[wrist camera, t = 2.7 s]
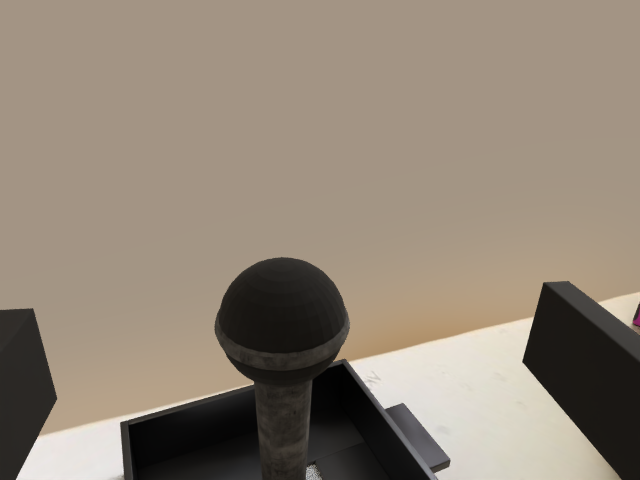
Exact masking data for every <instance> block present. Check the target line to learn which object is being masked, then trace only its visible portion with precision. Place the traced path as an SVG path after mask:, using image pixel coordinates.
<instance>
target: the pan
mask: <svg viewBox="0 0 640 480" xmlns="http://www.w3.org/2000/svg"><path fill="white" fill-rule="evenodd" d="M120 427H121V441H122V454H123V467H124V480H262V472H261V460H260V448H259V435H258V423H257V411H256V399H255V387H254V385H250V386H247V387H243V388H240V389H236V390H233V391H229V392H226V393H222V394H219V395H215V396H212V397H208V398H204V399H201V400H197V401H194V402H190V403H187V404H183V405H180V406H176V407H173V408H169V409H166V410H162V411H159V412H155V413H152V414H148V415H145V416H141V417H137V418H134V419H130V420H128V421H123V422H120ZM313 463H315V464H316V466H317V468H318V470H319V472H320V474H321V476H322V478H323V480H438V479H437V477H436V476H435V475H434V473H436V472H438V471H441V470H443V469H445V468H447V467H449V465H450V458H449V457H448V456H447V455H446V454H445V452H444V451H443V450H442V449H441V448H440V446H439V445H438V444H437V443H436V442H435V440H434V439H433V438H432V437H431V436H430V434H429V433H428V432H427V431H426V430H425V428H424V427H423V426H422V425H421V424H420V422H419V421H418V420H417V419H416V418H415V416H414V415H413V414H412V413H411V412H410V410H409V409H408V408H407V407H406V406H405V404H404V403H402V404H399V405H396V406H393V407H390V408H387V409H384V408H383V407H382V406H381V405H380V403H379V402H378V401H377V399H376V398H375V397H374V395H373V394H372V393H371V392H370V390H369V389H368V388H367V386H366V385H365V384H364V382H363V381H362V380H361V379H360V377H359V376H358V375H357V373H356V372H355V371H354V369H353V368H352V367H351V366H350V364H349V363H348V362H347V360H346V359H342V360H339V361H335V362H332V363H331V364H330V365H329V367H328V368H327V369H326V370H325V371H324V372H323V373H321V374H320V375H318V376H317V377H315V378H314V379H312V392H311V407H310V422H309V437H308V452H307V466H308V465H310V464H313Z"/></svg>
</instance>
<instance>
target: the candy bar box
mask: <svg viewBox="0 0 640 480" xmlns="http://www.w3.org/2000/svg"><path fill="white" fill-rule="evenodd" d="M633 323H634V324H635V325H638V326H640V303H639V305H638V308H637V310H636V313H635V316H634V319H633Z"/></svg>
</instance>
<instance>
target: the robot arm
mask: <svg viewBox="0 0 640 480" xmlns="http://www.w3.org/2000/svg"><path fill="white" fill-rule="evenodd" d="M522 362H523V363H524V364H525V366H526V367H527V368H528V369H529V370H530V372H531V373H532V374H533V375H534V376H535V377H536V379H537V380H538V381H539V382H540V383H541V384H542V386H543V387H544V388H545V389H546V390H547V392H548V393H549V394H550V395H551V396H552V397H553V399H554V400H555V401H556V402H557V403H558V405H559V406H560V407H561V408H562V409H563V410H564V412H565V413H566V414H567V415H568V416H569V417H570V419H571V420H572V421H573V422H574V423H575V425H576V426H577V427H578V428H579V429H580V430H581V432H582V433H583V434H584V435H585V436H586V437H587V439H588V440H589V441H590V442H591V443H592V445H593V446H594V447H595V448H596V449H597V450H598V452H599V453H600V454H601V455H602V456H603V458H604V459H605V460H606V461H607V462H608V463H609V465H610V466H611V467H612V468H613V469H614V470H615V472H616V473H617V474H618V475H619V476H620V478H621V479H622V480H640V335H638V334H637V333H636V332H635V331H633V330H632V329H631V328H629V327H628V326H627V325H625V324H624V323H623V322H621V321H620V320H619V319H617V318H616V317H615V316H613V315H612V314H611V313H610V312H608V311H607V310H606V309H604V308H603V307H602V306H600V305H599V304H598V303H596V302H595V301H594V300H592V299H591V298H590V297H589V296H587V295H586V294H585V293H583V292H582V291H581V290H579V289H578V288H577V287H575V286H574V285H573V284H571V283H570V282H569V281H562V282H544V283H543V287H542V290H541V294H540V298H539V301H538V305H537V309H536V312H535V316H534V320H533V324H532V327H531V331H530V335H529V339H528V342H527V346H526V350H525V354H524V357H523V361H522ZM56 400H57V396H56V392H55V388H54V385H53V381H52V377H51V373H50V370H49V366H48V362H47V358H46V355H45V351H44V347H43V343H42V340H41V336H40V332H39V328H38V325H37V321H36V317H35V313H34V310H33V308H32V309H13V310H0V480H16V478H17V476H18V474H19V472H20V470H21V468H22V466H23V464H24V462H25V460H26V458H27V456H28V455H29V453H30V451H31V449H32V447H33V445H34V443H35V441H36V439H37V437H38V435H39V433H40V431H41V429H42V427H43V425H44V423H45V421H46V419H47V418H48V415H49V414H50V412H51V410H52V408H53V406H54V404H55V402H56Z"/></svg>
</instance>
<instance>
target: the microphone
mask: <svg viewBox="0 0 640 480" xmlns="http://www.w3.org/2000/svg"><path fill="white" fill-rule="evenodd" d="M349 329H350V322H349V318H348V313H347V311H346V308H345V306H344V303H343V299H342V297H341V295H340V293H339V291H338V289H337V287H336V286H335V284H334V282H333V281H332V280H330V278H329V277H328V276H327V275H326V274H325V273H324V272H323V271H322V270H320V269H319V268H317V267H315V266H314V265H312V264H310V263H308V262H306V261H303V260H299V259H293V258H283V257H281V258H273V259H267V260H264V261H261V262H258V263H256V264H254V265H252V266H251V267H249V268H247V269H246V270H244V271H243V272H242V273H241V274H240V275H239V276H238V277H237V278H236V279H235V280H234V281H233V282H232V283H231V285H230V286H229V288H228V290H227V292H226V293H225V295H224V297H223V300H222V303H221V307H220V309H219V311H218V313H217V317H216V321H215V334H216V337H217V339H218V341H219V344H220V345H221V347H222V348H223V350H224V351H225V353H226V355H227V357H228V359H229V360H230V361H231V363H232V364H233V365H234V366H235V367H236V369H237V370H238V371H239V372H241V373H242V374H243V375H244V376H246V377H247V378H249V379H251V380H253V381H254V387H255V399H256V411H257V423H258V435H259V448H260V460H261V472H262V480H306V467H307V452H308V437H309V422H310V407H311V392H312V379H314V378H315V377H317V376H318V375H320V374H321V373H323V372H324V371H325V370H326V369H327V368H328V367H329V365H330V364H331V363H332V362H333V361H334V359H335V358H336V356H337V354H338V353H339V351H340V348H341V346H342V345H343V344H344V342H345V340H346V338H347V335H348V332H349Z"/></svg>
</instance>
